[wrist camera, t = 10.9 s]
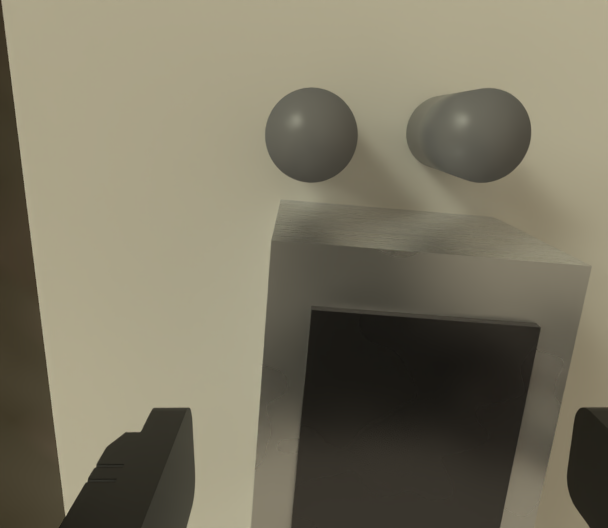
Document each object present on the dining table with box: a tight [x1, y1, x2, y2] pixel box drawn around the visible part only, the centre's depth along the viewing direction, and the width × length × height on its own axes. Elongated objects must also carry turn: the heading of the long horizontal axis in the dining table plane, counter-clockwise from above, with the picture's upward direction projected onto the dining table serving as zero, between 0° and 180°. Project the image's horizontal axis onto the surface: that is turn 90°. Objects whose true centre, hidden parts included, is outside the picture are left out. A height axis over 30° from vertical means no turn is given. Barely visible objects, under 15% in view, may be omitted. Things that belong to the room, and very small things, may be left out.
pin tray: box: [1, 0, 608, 528], centre depth 13 cm, size 16×20×4 cm
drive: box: [251, 199, 592, 528], centre depth 12 cm, size 5×9×5 cm, turn 175°
